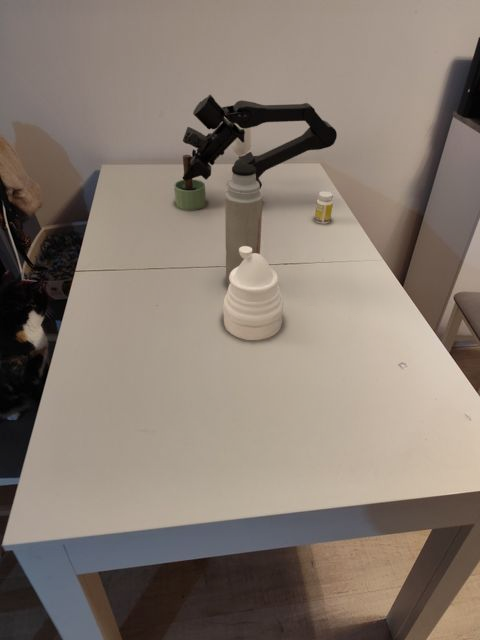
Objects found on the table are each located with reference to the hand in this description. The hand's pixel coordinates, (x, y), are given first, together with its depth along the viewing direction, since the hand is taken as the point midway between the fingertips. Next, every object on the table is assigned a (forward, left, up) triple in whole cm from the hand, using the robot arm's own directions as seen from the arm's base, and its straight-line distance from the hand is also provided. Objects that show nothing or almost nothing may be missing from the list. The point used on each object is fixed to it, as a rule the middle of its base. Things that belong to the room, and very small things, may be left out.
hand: (184, 177), depth 135 cm
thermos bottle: (+38, +28, -9) cm, 48 cm away
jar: (-1, +1, -8) cm, 9 cm away
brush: (0, +1, -7) cm, 7 cm away
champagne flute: (-21, +12, -9) cm, 26 cm away
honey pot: (+52, +34, -9) cm, 63 cm away
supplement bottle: (-2, +43, -9) cm, 44 cm away
